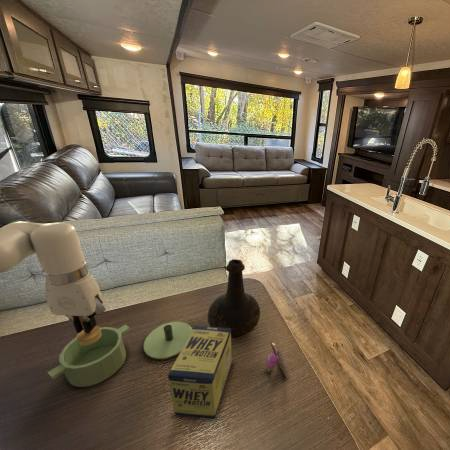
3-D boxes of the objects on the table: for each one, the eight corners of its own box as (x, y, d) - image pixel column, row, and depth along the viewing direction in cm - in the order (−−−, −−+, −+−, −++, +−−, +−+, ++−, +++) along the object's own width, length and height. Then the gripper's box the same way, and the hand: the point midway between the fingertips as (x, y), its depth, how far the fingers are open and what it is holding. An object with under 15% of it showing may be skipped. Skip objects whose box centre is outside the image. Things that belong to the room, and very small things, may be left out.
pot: (45, 379, 68) (36, 360, 65) (119, 332, 83) (114, 315, 80) (70, 406, 62) (61, 386, 59) (144, 350, 78) (140, 333, 75)
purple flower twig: (282, 364, 71) (273, 340, 78) (266, 374, 69) (258, 348, 77) (288, 376, 74) (278, 352, 82) (272, 386, 73) (264, 360, 80)
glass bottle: (203, 319, 92) (197, 254, 81) (248, 304, 101) (249, 244, 90) (217, 356, 78) (213, 285, 67) (267, 334, 88) (271, 269, 77)
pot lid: (134, 346, 79) (130, 333, 77) (174, 318, 91) (172, 305, 89) (164, 368, 73) (161, 354, 71) (202, 335, 85) (201, 322, 83)
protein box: (174, 416, 62) (166, 375, 56) (198, 361, 76) (195, 323, 70) (215, 420, 62) (212, 379, 56) (232, 364, 77) (231, 326, 70)
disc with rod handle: (74, 340, 68) (65, 315, 64) (95, 328, 72) (87, 304, 68) (84, 348, 66) (75, 323, 62) (105, 335, 70) (97, 311, 66)
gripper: (17, 280, 56) (44, 339, 63) (90, 283, 57) (108, 341, 64) (47, 263, 63) (68, 317, 70) (111, 266, 64) (125, 319, 71)
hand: (87, 328), depth 67 cm, fingers closed on disc with rod handle, 1 cm apart
